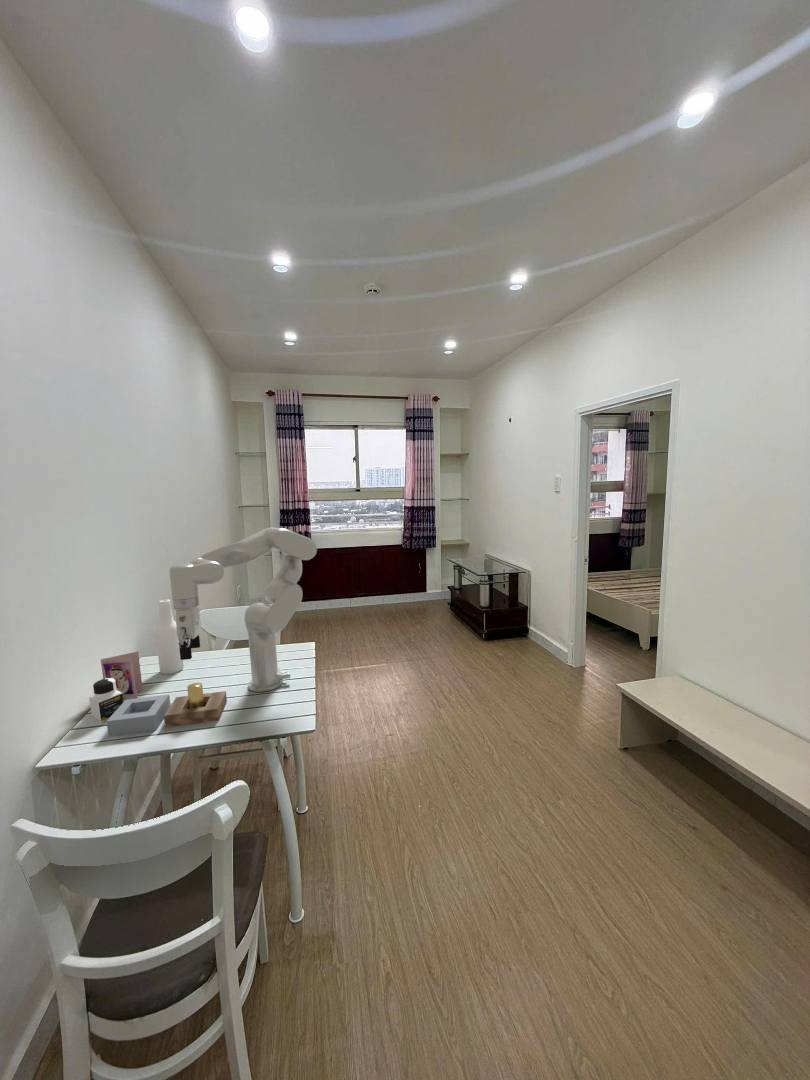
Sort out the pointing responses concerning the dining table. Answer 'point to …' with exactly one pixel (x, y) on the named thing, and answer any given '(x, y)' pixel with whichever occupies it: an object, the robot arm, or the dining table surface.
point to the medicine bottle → (105, 699)
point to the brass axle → (195, 695)
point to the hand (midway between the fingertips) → (190, 653)
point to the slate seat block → (138, 715)
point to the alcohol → (168, 641)
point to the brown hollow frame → (195, 710)
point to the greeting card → (124, 673)
